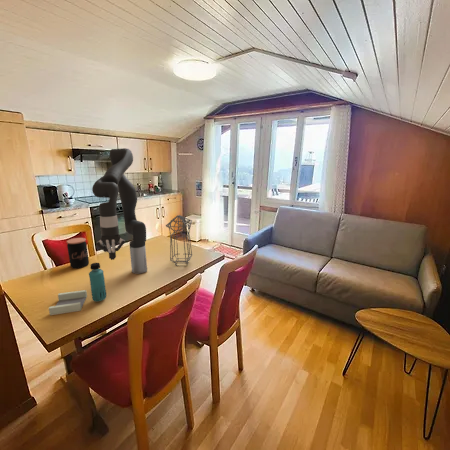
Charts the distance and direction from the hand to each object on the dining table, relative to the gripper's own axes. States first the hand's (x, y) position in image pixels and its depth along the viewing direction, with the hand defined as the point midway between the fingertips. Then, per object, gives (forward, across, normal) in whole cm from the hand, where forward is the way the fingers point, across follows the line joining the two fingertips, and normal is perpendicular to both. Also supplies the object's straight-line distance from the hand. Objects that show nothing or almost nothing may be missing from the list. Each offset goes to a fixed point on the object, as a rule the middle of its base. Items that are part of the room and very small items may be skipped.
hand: (112, 259), depth 112 cm
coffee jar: (+22, +28, -49) cm, 60 cm away
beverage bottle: (+22, +8, 0) cm, 23 cm away
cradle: (+22, +21, 0) cm, 30 cm away
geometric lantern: (+21, -37, -34) cm, 55 cm away
